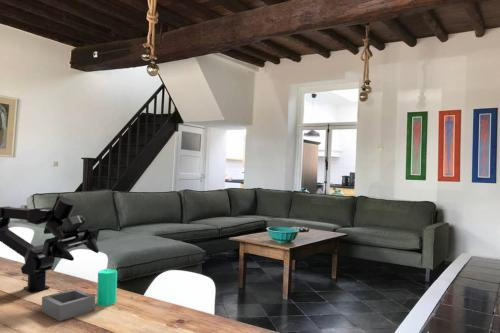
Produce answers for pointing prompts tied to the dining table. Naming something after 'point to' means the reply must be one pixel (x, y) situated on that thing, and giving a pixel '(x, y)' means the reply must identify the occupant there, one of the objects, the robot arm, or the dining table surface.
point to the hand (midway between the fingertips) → (86, 255)
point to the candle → (107, 287)
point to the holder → (68, 304)
